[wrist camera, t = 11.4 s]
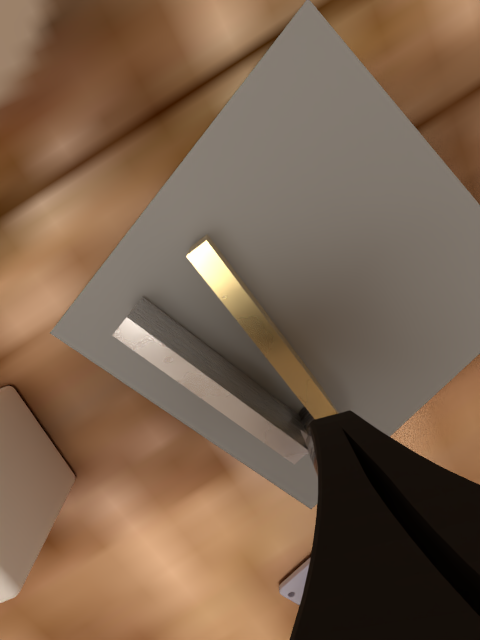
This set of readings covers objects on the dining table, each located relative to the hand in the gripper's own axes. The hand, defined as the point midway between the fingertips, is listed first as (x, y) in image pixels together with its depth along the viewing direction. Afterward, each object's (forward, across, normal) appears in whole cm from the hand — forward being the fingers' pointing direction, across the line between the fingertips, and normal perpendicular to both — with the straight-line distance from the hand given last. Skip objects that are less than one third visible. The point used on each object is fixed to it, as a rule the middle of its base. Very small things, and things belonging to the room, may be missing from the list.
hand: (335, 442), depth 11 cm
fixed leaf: (+9, +2, +1) cm, 9 cm away
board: (+9, -2, -1) cm, 10 cm away
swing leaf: (+8, +1, 0) cm, 8 cm away
